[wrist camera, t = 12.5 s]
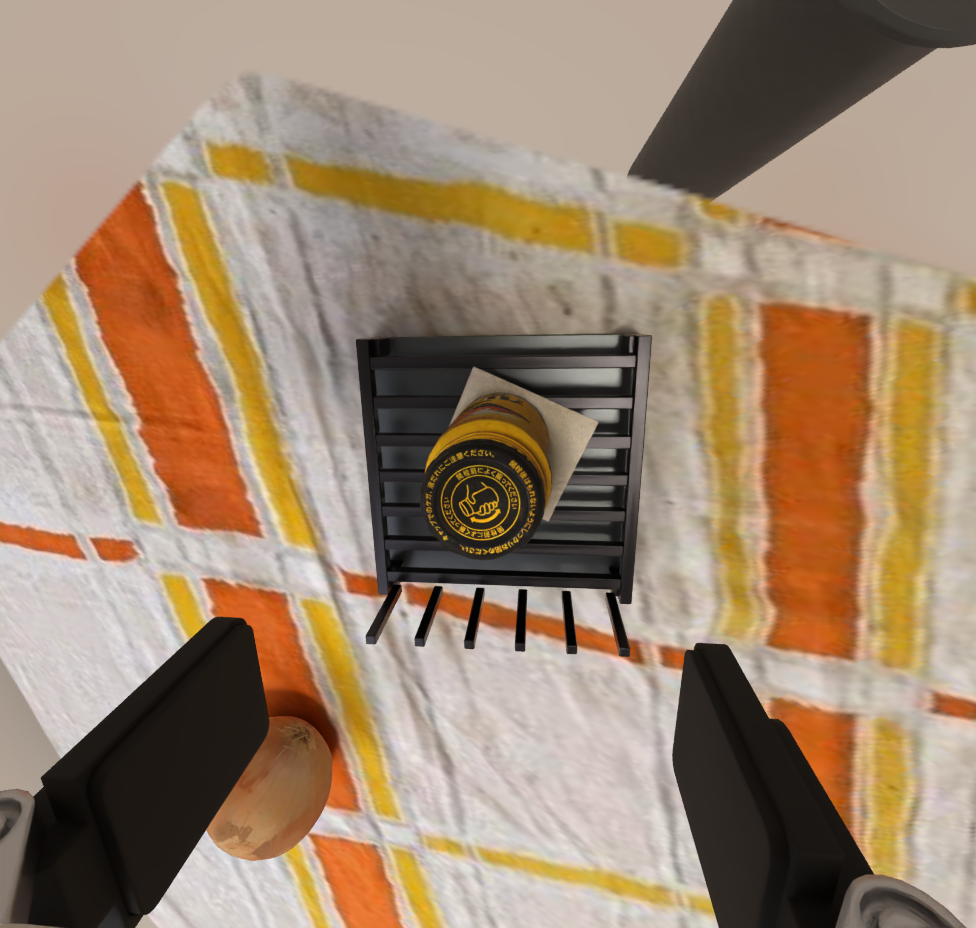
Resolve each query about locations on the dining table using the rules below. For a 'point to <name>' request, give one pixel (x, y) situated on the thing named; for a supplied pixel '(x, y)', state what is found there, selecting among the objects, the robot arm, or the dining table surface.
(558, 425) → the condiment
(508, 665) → the dining table surface
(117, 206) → the dining table surface
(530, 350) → the dish rack
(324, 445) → the dining table surface
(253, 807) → the onion
